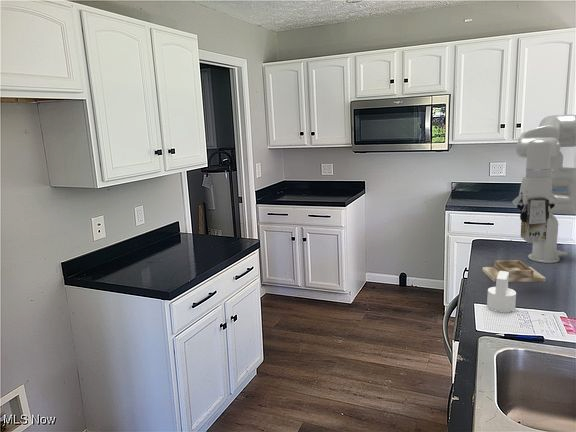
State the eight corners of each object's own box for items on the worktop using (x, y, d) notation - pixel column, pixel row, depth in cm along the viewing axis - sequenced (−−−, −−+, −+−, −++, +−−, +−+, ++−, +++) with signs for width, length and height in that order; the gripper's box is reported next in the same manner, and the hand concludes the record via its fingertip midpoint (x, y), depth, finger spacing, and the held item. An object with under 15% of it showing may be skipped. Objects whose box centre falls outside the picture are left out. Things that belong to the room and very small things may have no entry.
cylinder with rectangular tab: (513, 314, 150) (516, 281, 147) (485, 309, 154) (486, 277, 152) (516, 304, 157) (518, 272, 154) (488, 300, 162) (490, 269, 159)
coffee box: (546, 243, 160) (550, 199, 157) (527, 243, 162) (530, 200, 158) (537, 236, 169) (541, 195, 166) (519, 236, 170) (522, 195, 167)
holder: (530, 270, 191) (531, 260, 190) (545, 281, 177) (546, 270, 176) (482, 270, 193) (482, 260, 192) (493, 281, 179) (494, 271, 178)
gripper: (557, 171, 163) (553, 218, 167) (508, 173, 165) (505, 219, 169) (568, 174, 156) (563, 223, 159) (516, 176, 157) (513, 224, 161)
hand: (534, 221), depth 164 cm, fingers closed on coffee box, 6 cm apart
